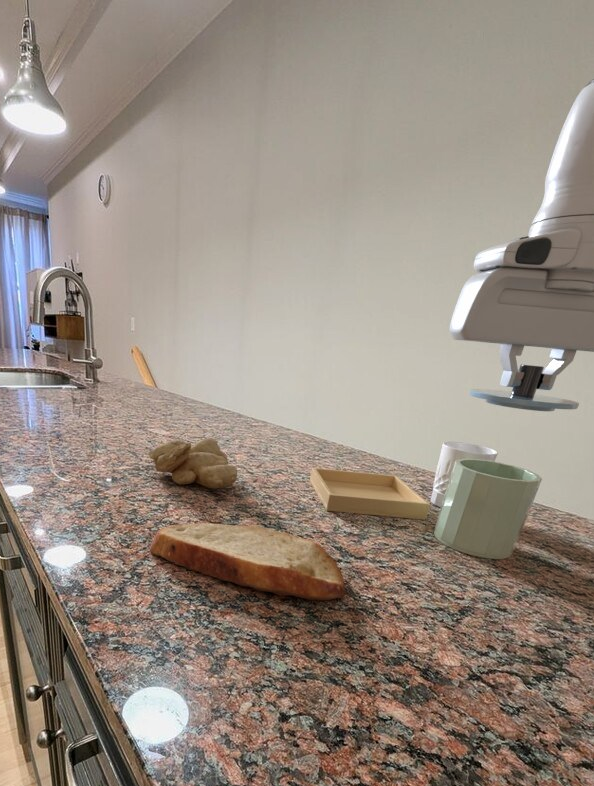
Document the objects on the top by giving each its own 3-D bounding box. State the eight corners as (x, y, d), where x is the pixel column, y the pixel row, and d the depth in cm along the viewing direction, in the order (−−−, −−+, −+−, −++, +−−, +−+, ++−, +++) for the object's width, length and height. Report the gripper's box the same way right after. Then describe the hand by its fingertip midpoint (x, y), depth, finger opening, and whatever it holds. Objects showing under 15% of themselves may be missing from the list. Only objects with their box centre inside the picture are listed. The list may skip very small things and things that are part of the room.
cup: (487, 530, 66) (511, 462, 62) (528, 562, 57) (560, 484, 53) (422, 524, 66) (442, 455, 62) (453, 555, 57) (479, 477, 53)
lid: (534, 402, 60) (547, 365, 58) (600, 418, 49) (618, 374, 47) (451, 395, 60) (461, 358, 58) (499, 409, 49) (513, 365, 47)
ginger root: (153, 453, 83) (165, 412, 80) (232, 483, 83) (248, 443, 80) (127, 481, 69) (139, 433, 66) (222, 517, 69) (240, 471, 66)
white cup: (487, 516, 72) (509, 456, 68) (439, 512, 71) (458, 451, 68) (462, 499, 79) (480, 443, 75) (418, 495, 79) (434, 439, 75)
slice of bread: (142, 540, 53) (143, 511, 52) (272, 526, 60) (276, 500, 59) (198, 632, 38) (202, 594, 37) (363, 599, 45) (371, 567, 44)
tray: (392, 489, 81) (396, 475, 80) (425, 520, 68) (430, 504, 67) (309, 481, 81) (312, 467, 80) (326, 510, 68) (329, 494, 67)
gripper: (639, 268, 51) (590, 391, 57) (462, 253, 51) (429, 378, 56) (692, 261, 45) (632, 399, 51) (493, 243, 45) (453, 383, 51)
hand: (524, 388), depth 54 cm, fingers closed on lid, 2 cm apart
